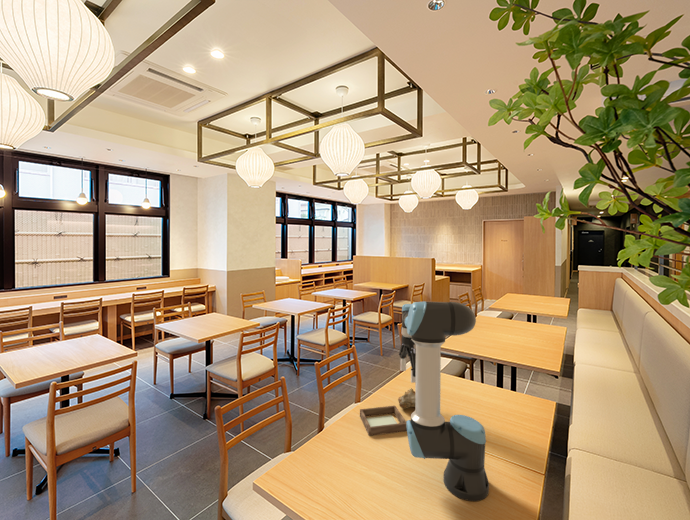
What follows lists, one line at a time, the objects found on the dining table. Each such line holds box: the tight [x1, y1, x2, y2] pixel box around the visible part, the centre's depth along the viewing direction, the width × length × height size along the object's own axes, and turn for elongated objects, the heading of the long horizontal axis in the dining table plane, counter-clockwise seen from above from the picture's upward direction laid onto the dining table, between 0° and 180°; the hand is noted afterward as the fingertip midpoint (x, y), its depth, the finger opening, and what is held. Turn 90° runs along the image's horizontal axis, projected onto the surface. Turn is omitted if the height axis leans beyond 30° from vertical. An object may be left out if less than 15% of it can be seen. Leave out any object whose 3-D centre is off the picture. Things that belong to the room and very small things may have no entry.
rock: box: [397, 388, 415, 410], centre depth 170 cm, size 12×10×10 cm
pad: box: [366, 414, 398, 427], centre depth 156 cm, size 11×13×1 cm
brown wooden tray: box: [359, 405, 407, 437], centre depth 156 cm, size 16×18×4 cm
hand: (408, 376), depth 169 cm, fingers open, 13 cm apart
